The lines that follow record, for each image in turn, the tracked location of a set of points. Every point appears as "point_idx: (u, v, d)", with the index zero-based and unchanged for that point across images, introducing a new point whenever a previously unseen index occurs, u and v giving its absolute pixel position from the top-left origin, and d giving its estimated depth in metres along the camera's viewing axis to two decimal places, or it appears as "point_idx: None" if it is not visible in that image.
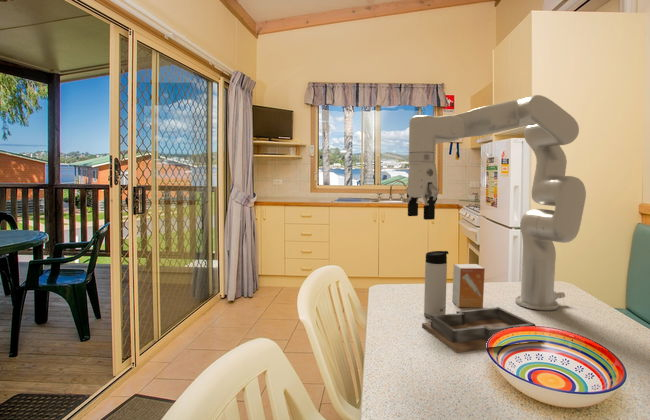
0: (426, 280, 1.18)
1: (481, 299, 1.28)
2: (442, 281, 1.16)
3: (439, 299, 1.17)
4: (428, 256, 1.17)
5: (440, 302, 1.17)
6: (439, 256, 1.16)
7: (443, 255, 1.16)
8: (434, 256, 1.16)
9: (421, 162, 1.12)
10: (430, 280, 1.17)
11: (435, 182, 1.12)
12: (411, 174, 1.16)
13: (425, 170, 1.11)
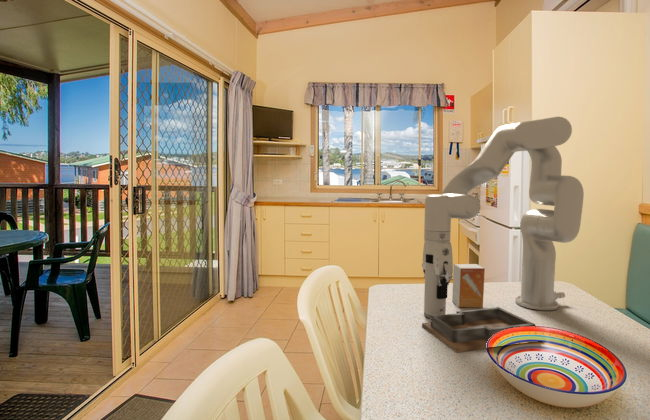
0: (426, 280, 1.18)
1: (481, 299, 1.28)
2: None
3: (439, 299, 1.17)
4: (428, 256, 1.17)
5: (440, 302, 1.17)
6: None
7: None
8: None
9: (437, 241, 1.15)
10: (430, 280, 1.17)
11: (450, 261, 1.14)
12: (427, 250, 1.19)
13: (441, 250, 1.14)
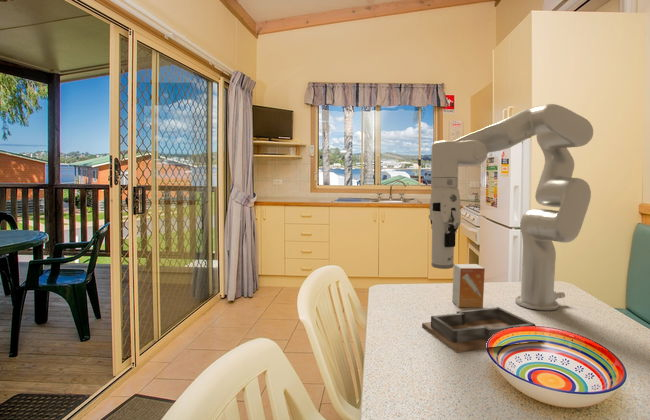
0: (433, 229, 1.16)
1: (481, 299, 1.28)
2: None
3: (447, 247, 1.14)
4: (435, 204, 1.15)
5: (448, 251, 1.14)
6: None
7: None
8: None
9: (444, 187, 1.12)
10: (437, 228, 1.14)
11: (458, 207, 1.12)
12: (434, 198, 1.17)
13: (448, 196, 1.11)
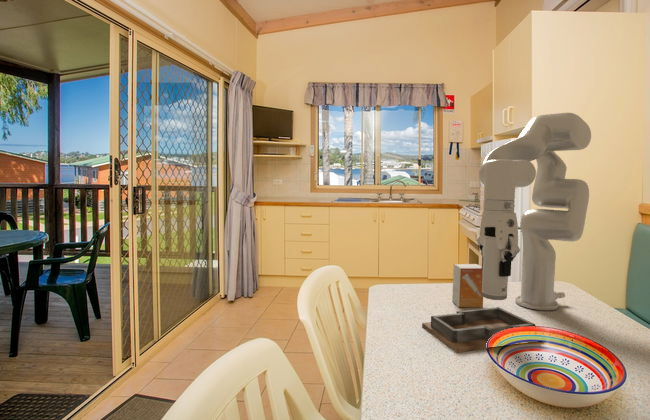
0: (486, 256, 1.05)
1: (481, 299, 1.28)
2: None
3: (502, 277, 1.03)
4: (489, 229, 1.04)
5: (503, 280, 1.04)
6: None
7: None
8: None
9: (500, 211, 1.02)
10: (491, 255, 1.04)
11: (516, 233, 1.01)
12: (486, 222, 1.06)
13: (506, 220, 1.01)
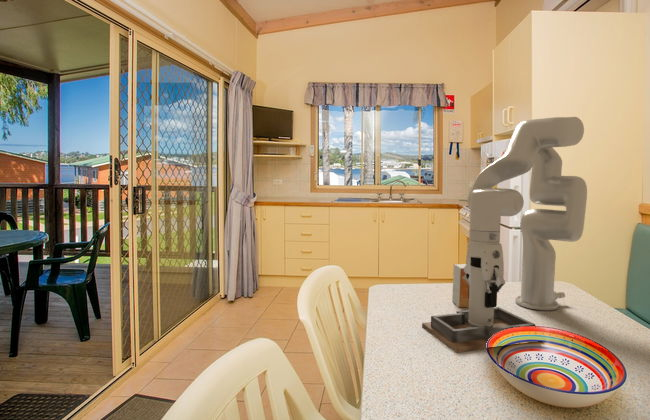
0: (472, 286, 1.05)
1: None
2: None
3: None
4: (474, 259, 1.04)
5: (489, 311, 1.03)
6: None
7: None
8: None
9: (486, 242, 1.01)
10: (477, 286, 1.04)
11: (501, 265, 1.01)
12: (472, 252, 1.06)
13: (491, 252, 1.00)
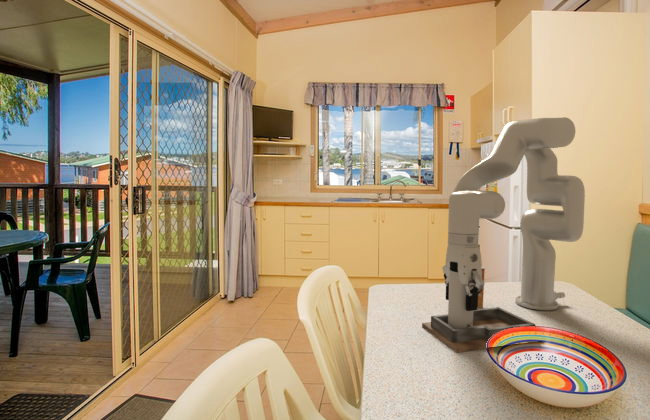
0: (451, 291, 1.04)
1: (481, 299, 1.28)
2: None
3: (466, 313, 1.02)
4: (453, 264, 1.02)
5: (467, 316, 1.02)
6: None
7: None
8: None
9: (464, 245, 1.00)
10: (456, 291, 1.02)
11: (479, 268, 0.99)
12: (451, 255, 1.04)
13: (468, 255, 0.99)
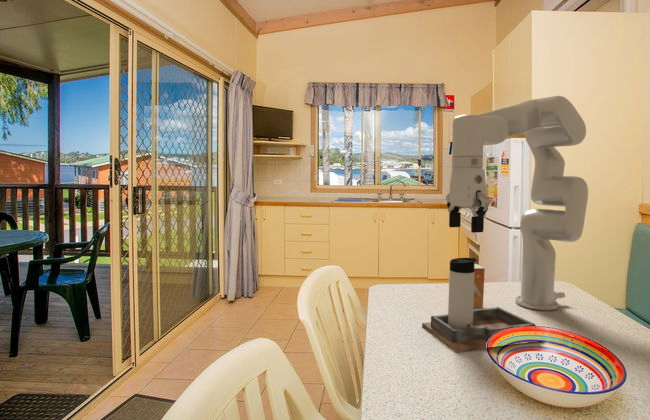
0: (451, 291, 1.04)
1: (481, 299, 1.28)
2: (469, 292, 1.01)
3: (466, 313, 1.02)
4: (453, 264, 1.02)
5: (467, 317, 1.02)
6: (466, 264, 1.01)
7: (471, 263, 1.01)
8: (460, 264, 1.01)
9: (468, 167, 0.99)
10: (456, 291, 1.02)
11: (484, 190, 0.99)
12: (455, 180, 1.04)
13: (473, 177, 0.98)
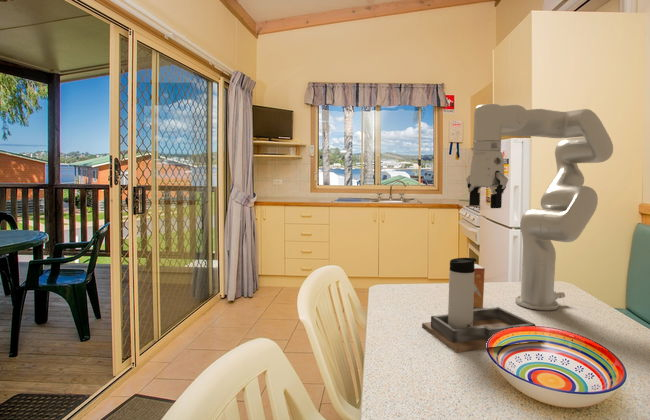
0: (451, 291, 1.04)
1: (481, 299, 1.28)
2: (469, 292, 1.01)
3: (466, 313, 1.02)
4: (453, 264, 1.02)
5: (467, 316, 1.02)
6: (466, 264, 1.01)
7: (471, 263, 1.01)
8: (460, 264, 1.01)
9: (488, 151, 1.12)
10: (456, 291, 1.02)
11: (502, 171, 1.12)
12: (476, 163, 1.16)
13: (493, 159, 1.11)
